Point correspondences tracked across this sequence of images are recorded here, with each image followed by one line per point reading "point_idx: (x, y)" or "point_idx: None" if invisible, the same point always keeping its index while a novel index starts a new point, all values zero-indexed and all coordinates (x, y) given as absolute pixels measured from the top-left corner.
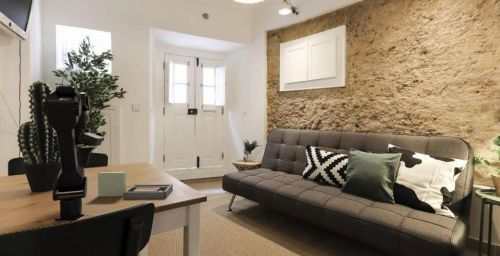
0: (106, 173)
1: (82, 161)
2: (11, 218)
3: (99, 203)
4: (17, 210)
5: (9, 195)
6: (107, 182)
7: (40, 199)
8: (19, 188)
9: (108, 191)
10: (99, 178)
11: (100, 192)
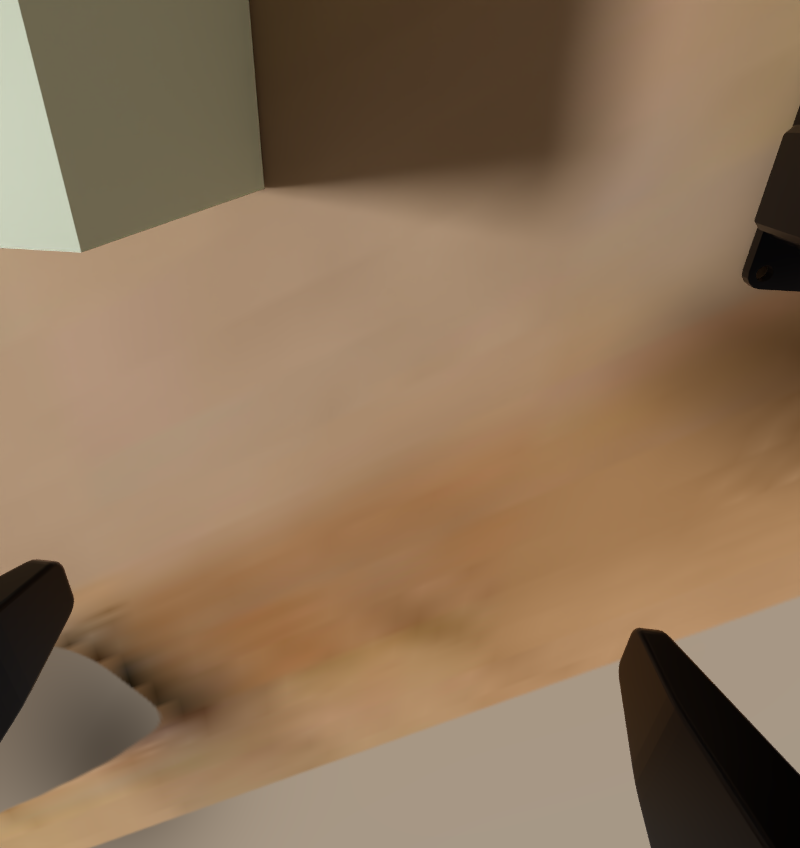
0: (30, 12)
1: (13, 714)
2: (716, 600)
3: (461, 69)
4: (544, 639)
5: (241, 778)
6: (150, 24)
7: (312, 627)
8: (107, 792)
9: (217, 31)
10: (141, 198)
11: (237, 164)
